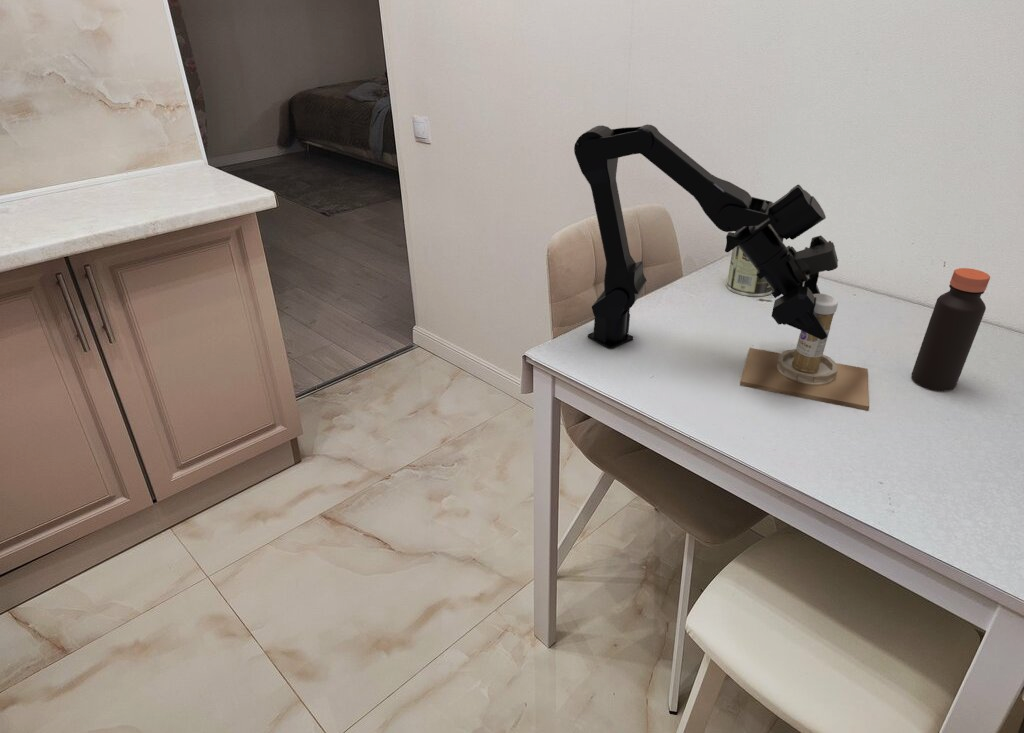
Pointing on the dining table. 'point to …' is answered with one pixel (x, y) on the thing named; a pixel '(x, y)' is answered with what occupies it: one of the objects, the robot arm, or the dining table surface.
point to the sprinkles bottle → (811, 346)
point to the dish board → (807, 379)
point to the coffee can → (746, 275)
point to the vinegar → (951, 331)
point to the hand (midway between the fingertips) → (825, 326)
